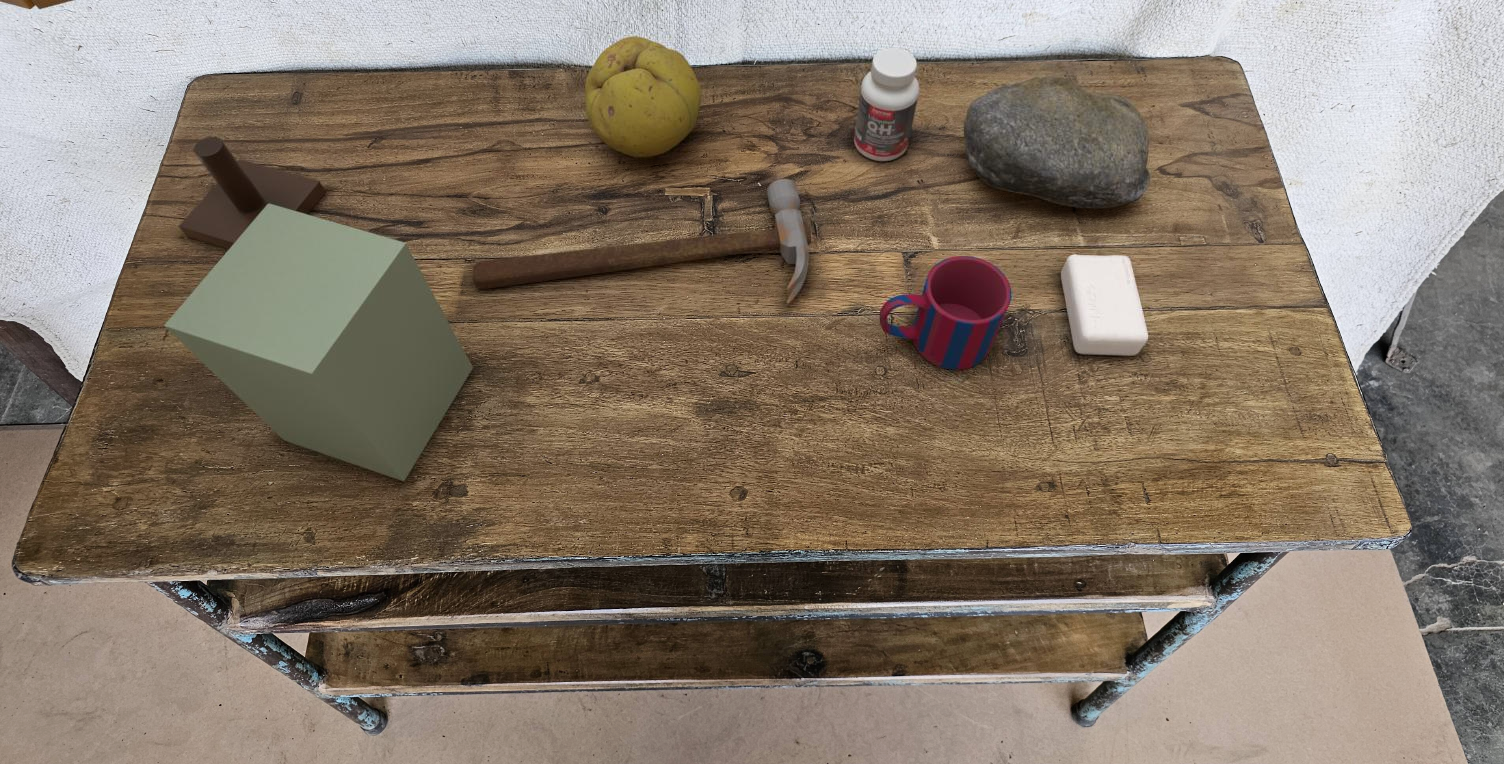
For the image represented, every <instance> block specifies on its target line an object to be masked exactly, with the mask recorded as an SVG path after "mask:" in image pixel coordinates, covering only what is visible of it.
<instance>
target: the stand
mask: <svg viewBox="0 0 1504 764" xmlns="http://www.w3.org/2000/svg"><path fill="white" fill-rule="evenodd" d="M193 153H194V155H195V156H196V157H197V159H198V160H199V162H201V164H202V165H203V166H204V168H205V169H206V170H207V171H208V173H209V174H210V176H211V178H213V179H214V181H215V182H216V184H215V185H214V186H213V188H211V189H210V191H209V192H207V194H206V195H205V196H204V197H203V199H202V200H200V202H199V203H198V204H197V205H196V206H195V207H194V208H193V209H192V211H190V212H189V214H188V215H187V216H186V217H185V218H184V219H183V220H182V222H181V223H180V224H179V225H178V228H179V229H180V230H181V231H182V232H183V234H184V235H185V237H187V238H190V239H193V240H197V241H200V242H204V243H206V244H210V245H213V246H217V247H220V248H223V249H226V250H229V249H230V248H231V246H232V245H233V244H234V243H235V242H236V241H237V239H238V238H239V237H240V236H241V235H242V234H243V232H244V231H245V230H246V229H247V228H248V227H249V225H250V224H251V223H252V222H253V221H254V220H255V218H256V217H257V216H258V215H259V214H260V212H261V211H262V210H263V209H264V208H265V207H266V205H267V204H273V205H276V206H279V207H283V208H286V209H290V210H293V211H297V212H300V213H304V214H307V215H309V214H310V212H311V211H312V210H313V209H314V208H315V206H316V205H317V204H318V203H319V201H320V200H321V199H322V198H323V197H324V195H325V194H326V190H325V188H324V186H323V185H322V183H321V181H319V180H316V179H312V178H309V177H305V176H302V175H299V174H295V173H291V172H287V171H284V170H281V169H277V168H273V167H269V166H266V165H263V164H258V163H255V162H251V161H249V160H245V159H241V158H239V159H238V160H237V159H236V158H235V156H234V155H233V153H232V152H231V151H230V149H229V148H228V147H227V145H226V144H225V142H224V141H223V140H222V139H221V137H217V136H207V137H203V138H202V139H200V140H199V141H198V142H196V144H194V147H193Z"/></svg>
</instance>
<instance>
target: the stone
mask: <svg viewBox="0 0 1504 764" xmlns="http://www.w3.org/2000/svg"><path fill="white" fill-rule="evenodd" d="M963 137H964V143H965V144H964V147H965V148H964V150H965V153H966V156H967V159H968V161H969V165H970V167H971V168H972V169H973V171H974V172H975V174H976V176H978V178H979V179H980V180H982V181H983V182H984V183H985V184H987V186H989V187H990V188H993V189H997V190H1003V191H1006V192H1011V193H1013V194H1020V195H1029V196H1032V197H1035V198H1038V199H1042V200H1045V201H1048V202H1050V203H1054V204H1057V205H1061V206H1064V207H1065V206H1066V207H1071V208H1078V209H1111V208H1117V207H1119V206H1122V205H1127V204H1130V203H1133V202H1136V201H1138V200H1140V199H1141V198H1142V197H1143V195H1144V193H1145V191H1147V189H1148V187H1149V185H1150V181H1151V174H1150V172H1149V169H1148V168H1147V166H1148V162H1149V161H1148V159H1149V145H1150V139H1149V133H1148V130H1147V127H1146V125H1145V121H1144V118H1143V117H1142V114H1141V112H1140V111H1139V110H1138V108H1137V107H1136V106H1135V105H1134V104H1133V103H1132V102H1131V101H1130V100H1129V99H1127V98H1125V97H1123V96H1121V95H1119V94H1113V93H1112V94H1111V93H1099V94H1092V93H1090V92H1089V91H1086V90H1085V89H1084V88H1082V87H1080V86H1079V85H1078V84H1077V83H1076V82H1075V81H1073V80H1072V79H1070V78H1067V77H1063V76H1053V75H1049V76H1043V77H1040V76H1036V75H1035V76H1032V77H1029V78H1027V79H1024V80H1021V81H1018V82H1017V81H1016V82H1014V83H1010V84H1009V83H1008V84H1006V85H1001V86H998V87H996V88H994V89H992V90H990V91H988V92H987V93H986V94H984V95H982V96H979V97H976V99H974V100H972V101H971V103H970V104H969V106H968V108H967V110H966V115H965V119H964V125H963Z"/></svg>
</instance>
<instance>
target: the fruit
mask: <svg viewBox="0 0 1504 764" xmlns="http://www.w3.org/2000/svg"><path fill="white" fill-rule="evenodd" d="M702 96H703V95H702V88H701V85H700V82H699V80H698V79H697V76H696V74H695V72H694V70H693V68H692V67H691V64H690V63H689V61H688V60H687V59H686V57H685V56H684V55H683V54H682V53H681V52H679V51H677V50H675V49H673V48H672V49H671V48H668V47H666V46H665V45H663V44H662V43H659V42H657V41H653V40H651V39H649V38H645V37H642V36H627V37H624V38H622V39H619V40H618V41H616V42H614V43H612V44H610V45H609V46H607V47H606V48H605V49H604V50H603V51H602V52H601V53H600V54H599V56H598V57H597V58H596V60H595V62H594V64H593V66H592V67H591V69H590V70H589V72H588V75H587V77H586V80H585V84H584V99H585V115H586V118H587V120H588V123H589V125H590V127H591V129H592V130H593V132H594V133H595V134H596V135H597V136H598V138H600V140H601V141H602V142H603V143H604V144H605V145H607V146H608V147H609V148H611V149H613V150H614V151H617V152H619V153H621V154H625V155H627V156H630V157H633V158H649V157H650V158H651V157H655V156H658V155H662V154H664V153H666V152H668V151H670V150H671V149H673V148H675V147H676V146H677V145H678V144H680V143H681V142H682V141H683V140H684V139H685V138H686V137H687V136H688V135H690V133H691V132H692V131H693V129H694V128H695V126H696V123H697V121H698V115H699V113H700V108H701V104H702Z"/></svg>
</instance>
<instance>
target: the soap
mask: <svg viewBox="0 0 1504 764" xmlns="http://www.w3.org/2000/svg"><path fill="white" fill-rule="evenodd" d="M1060 280H1061V285H1062V291H1063V296H1064V301H1065V307H1066V313H1067V318H1068V322H1069V328H1070V333H1071V339H1072V345H1073V349H1074V351H1075V352H1076V353H1077V354H1080V355H1099V356H1126V357H1127V356H1129V357H1131V356H1136V355H1138V354H1139V353H1140V352H1141V350H1142V349H1143V347H1144V346H1145V345H1146V343H1147V342H1148V340H1149V332H1148V328H1147V324H1146V319H1145V315H1144V311H1143V306H1142V302H1141V300H1140V299H1141V298H1140V294H1139V290H1138V286H1137V282H1136V277H1135V273H1134V270H1133V265H1132V261H1131V259H1130V258H1129V256H1126V255H1117V254H1116V255H1114V254H1113V255H1111V254H1110V255H1092V254H1089V255H1088V254H1076V253H1074V254H1071V255H1069V256H1068V257H1067V258H1066V260H1065V263H1064V265H1063V267H1062V268H1061V271H1060Z"/></svg>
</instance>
